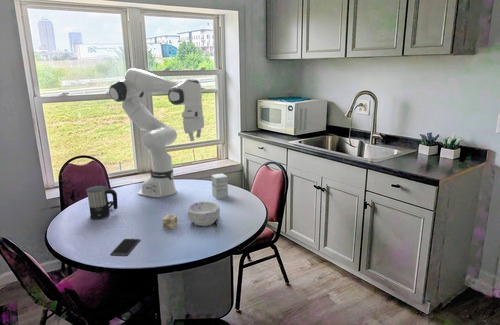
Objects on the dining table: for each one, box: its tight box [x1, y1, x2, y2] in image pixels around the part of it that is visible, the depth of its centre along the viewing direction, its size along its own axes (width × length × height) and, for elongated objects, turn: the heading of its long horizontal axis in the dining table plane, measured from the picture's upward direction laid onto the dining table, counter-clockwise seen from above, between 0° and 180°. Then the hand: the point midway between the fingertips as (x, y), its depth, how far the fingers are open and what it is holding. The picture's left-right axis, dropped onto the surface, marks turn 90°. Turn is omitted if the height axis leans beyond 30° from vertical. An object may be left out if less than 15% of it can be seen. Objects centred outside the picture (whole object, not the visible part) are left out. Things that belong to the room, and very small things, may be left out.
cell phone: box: [110, 238, 141, 257], centre depth 147 cm, size 7×14×1 cm, turn 175°
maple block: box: [162, 214, 179, 231], centre depth 165 cm, size 5×5×5 cm
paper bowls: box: [187, 201, 221, 227], centre depth 169 cm, size 15×15×8 cm
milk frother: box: [85, 185, 118, 220], centre depth 181 cm, size 14×16×15 cm
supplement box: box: [211, 173, 229, 200], centre depth 203 cm, size 7×7×13 cm
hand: (195, 139), depth 180 cm, fingers open, 8 cm apart
